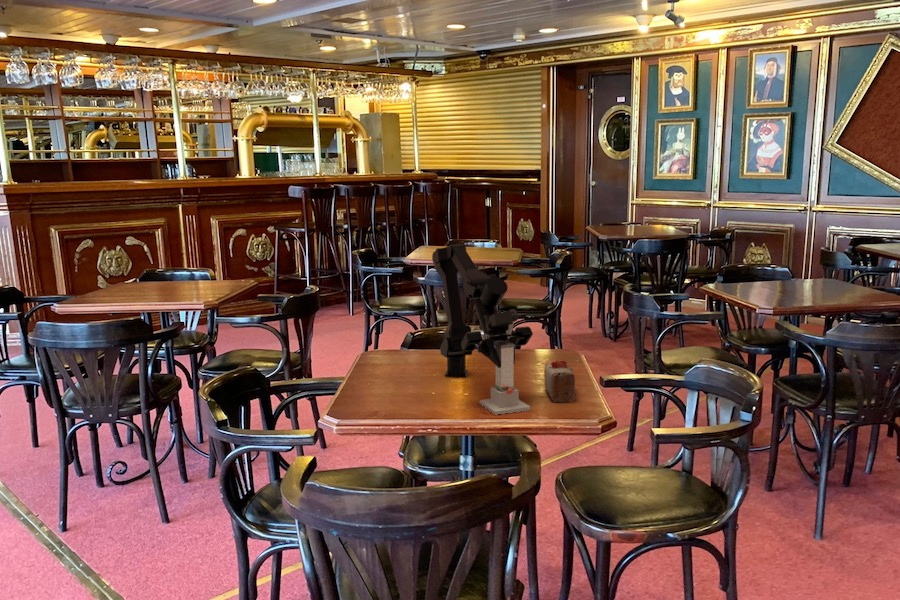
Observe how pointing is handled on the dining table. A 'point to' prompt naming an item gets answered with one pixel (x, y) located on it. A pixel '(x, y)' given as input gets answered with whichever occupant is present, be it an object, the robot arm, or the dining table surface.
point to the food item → (559, 381)
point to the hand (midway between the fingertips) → (506, 366)
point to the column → (505, 366)
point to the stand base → (504, 402)
